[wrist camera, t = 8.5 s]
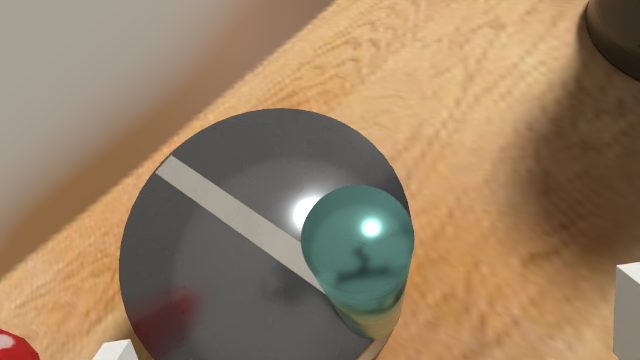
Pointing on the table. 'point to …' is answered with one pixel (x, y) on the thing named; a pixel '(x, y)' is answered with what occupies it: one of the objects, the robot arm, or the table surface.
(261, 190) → the crank wheel
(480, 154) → the table surface
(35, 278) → the table surface
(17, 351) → the decorative mushroom
